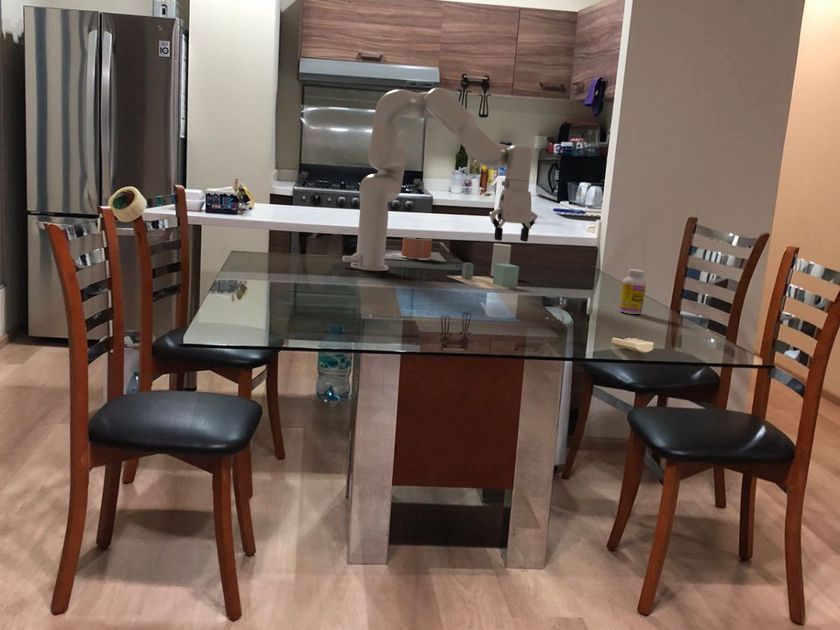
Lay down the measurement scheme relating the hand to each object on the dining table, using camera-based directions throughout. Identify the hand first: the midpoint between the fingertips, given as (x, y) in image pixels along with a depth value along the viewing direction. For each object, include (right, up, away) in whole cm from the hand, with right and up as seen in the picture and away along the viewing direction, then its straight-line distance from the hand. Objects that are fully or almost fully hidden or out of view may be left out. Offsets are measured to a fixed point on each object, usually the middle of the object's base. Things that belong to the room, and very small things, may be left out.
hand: (511, 240), depth 278 cm
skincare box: (-2, -11, +24) cm, 27 cm away
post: (-13, -12, +10) cm, 20 cm away
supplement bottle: (+33, -23, -18) cm, 44 cm away
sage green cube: (-2, -14, +3) cm, 15 cm away
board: (-8, -14, +6) cm, 17 cm away
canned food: (-30, -2, +59) cm, 66 cm away
